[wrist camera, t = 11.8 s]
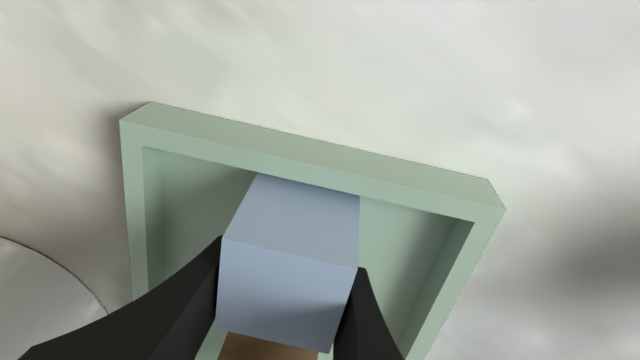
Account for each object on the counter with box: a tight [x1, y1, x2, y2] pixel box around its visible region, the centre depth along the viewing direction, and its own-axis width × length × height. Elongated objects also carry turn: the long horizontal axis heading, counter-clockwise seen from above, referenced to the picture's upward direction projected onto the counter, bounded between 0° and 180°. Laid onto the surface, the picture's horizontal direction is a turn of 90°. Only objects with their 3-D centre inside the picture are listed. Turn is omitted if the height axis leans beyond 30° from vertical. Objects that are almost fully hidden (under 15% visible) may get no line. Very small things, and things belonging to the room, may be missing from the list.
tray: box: [119, 102, 506, 360], centre depth 18 cm, size 16×14×2 cm
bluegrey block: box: [215, 172, 360, 354], centre depth 14 cm, size 4×4×5 cm
